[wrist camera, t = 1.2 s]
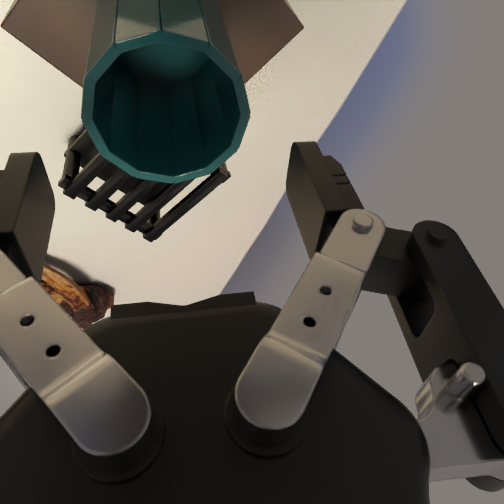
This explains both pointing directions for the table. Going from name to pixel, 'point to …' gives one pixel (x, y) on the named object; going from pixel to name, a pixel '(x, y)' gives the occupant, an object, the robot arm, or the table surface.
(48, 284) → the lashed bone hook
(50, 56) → the shelf
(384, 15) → the table surface
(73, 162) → the rack
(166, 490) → the robot arm
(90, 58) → the cup
